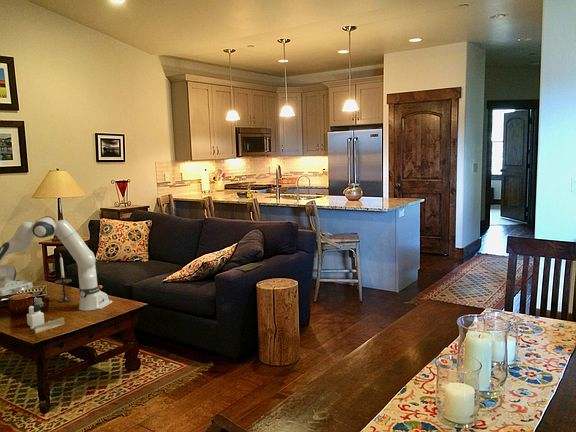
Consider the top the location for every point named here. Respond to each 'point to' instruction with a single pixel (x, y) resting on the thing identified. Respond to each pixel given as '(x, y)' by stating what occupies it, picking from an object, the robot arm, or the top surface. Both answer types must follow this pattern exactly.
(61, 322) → the beige flat block
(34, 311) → the medicine bottle
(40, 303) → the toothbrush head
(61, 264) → the candlestick
